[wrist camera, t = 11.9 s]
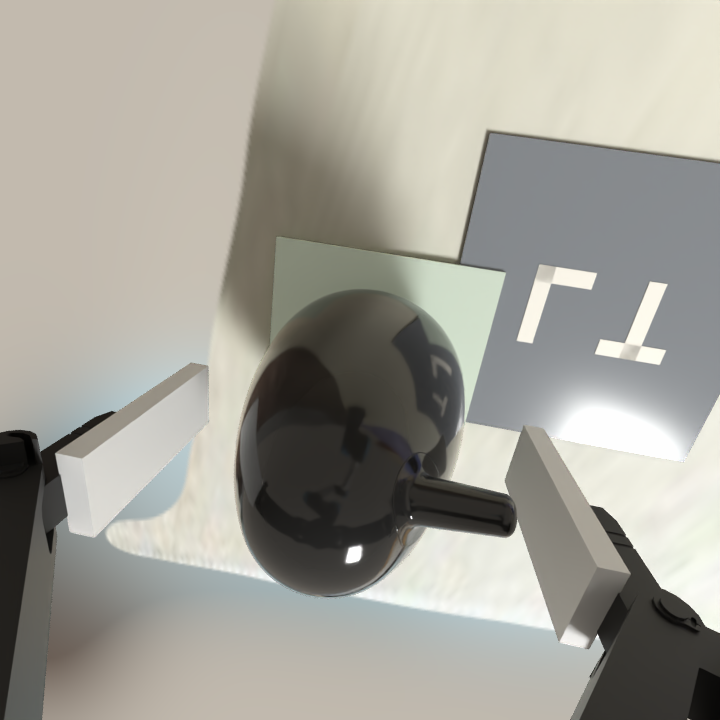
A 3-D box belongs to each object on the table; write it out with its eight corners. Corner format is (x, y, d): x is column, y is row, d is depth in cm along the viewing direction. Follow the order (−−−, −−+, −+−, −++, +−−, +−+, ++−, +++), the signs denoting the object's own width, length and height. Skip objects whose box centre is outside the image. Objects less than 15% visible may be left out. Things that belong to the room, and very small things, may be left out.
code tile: (489, 133, 19) (490, 132, 19) (828, 179, 18) (834, 178, 18) (425, 413, 25) (425, 414, 25) (681, 460, 24) (684, 462, 24)
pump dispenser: (468, 423, 24) (547, 704, 10) (312, 442, 26) (197, 701, 12) (444, 260, 21) (512, 340, 7) (270, 296, 23) (48, 415, 9)
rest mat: (278, 236, 22) (276, 236, 22) (504, 271, 21) (506, 272, 21) (266, 429, 27) (264, 432, 27) (452, 465, 26) (452, 468, 26)
